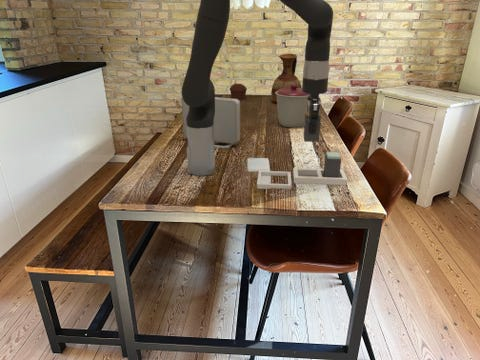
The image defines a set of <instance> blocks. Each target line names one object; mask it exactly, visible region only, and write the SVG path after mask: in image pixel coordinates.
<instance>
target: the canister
mask: <svg viewBox="0 0 480 360" xmlns="http://www.w3.org/2000/svg"><path fill="white" fill-rule="evenodd" d="M297 87H298V85H297V84H296V83H292V84H291V88H282V89H279V90H278V91H276V92H275V93H276V95H277V102H276V105H277V106H276V108H277V118H278V124H280V125H281V126H283V127H285V128H294V129H295V128H302V127H303V126H304V123H305V113H306V110H307V97H308V95H310V94H307V93H304V92H303V91H302V88H297Z"/></svg>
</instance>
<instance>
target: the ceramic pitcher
mask: <svg viewBox="0 0 480 360" xmlns="http://www.w3.org/2000/svg"><path fill="white" fill-rule="evenodd" d="M278 57H279V59H280V60H281V61H282V72H281V74H279V75H278V76H277V77H276V78H275V80H274V81H273V83H272V86H271V92H270V93H271V99H272V100H273V101H274V102H276V103H277V95H276V93H275V92H276V91H278V90H279V89H282V88H291V84H292V83H296V84H297V85H298V87H297V88H302V83H301V82H300V80H299V78H298V76H296V75H295V74H296V68H297V63H298V55H297V54H295V53H294V54H293V53H283V54H281V55H279V56H278Z"/></svg>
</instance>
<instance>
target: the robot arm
mask: <svg viewBox="0 0 480 360" xmlns="http://www.w3.org/2000/svg"><path fill="white" fill-rule="evenodd" d="M279 1H280V2H281V3H283V4H284V5H285V6H286V7H287V8H288V9H290V10H292V11H293V12H294V13H295V14H297V16H298V17H300V19H302V20H303V22H305V23H306V24H307V25H308V26H307V40H306V43H305V50H304V62H303V69H302V83H301V87H302V91H303V92H304V93H307V94H310V95H308V97H307V110H308V114H309V134H316V125H317V122H318V121H319V119H318V118H319V113H320V114H321V112H320V111H321V104H322V99H321V97H320V95H321V94H322V95H323V94H326V93H327V92H328V85H329V76H330V75H329V74H330V53H331V36H332V28H333V21H334V20H333V19H334V10H333V7H332V5H330V4H329V3H328V2H326V1H325V0H279ZM230 10H231V0H200V3H199V7H198V10H197V11H198V12H197V16H196V21H195V27H194V34H193V39H192V44H191V51H190V58H189V63H188V65H187V66H188V67H187V70H186V73H185V75H184V79H183V82H182V85H181V99H182V98H183V100H184V102H185V103H186V104H187V105H188V106H189V112H188V115H187V118H186V123H187V137H188V138H187V137H186V138H187V147H186V160H187V172H188V174H192V176H193V175H194V176H199V177H200V176H208V175H212V174H214V173H215V172H216V151H215V148H216V147H214V145H215V144H214V116H215V97H216V90H215V85H214V83H213V81H212V80H211V75H212V69H213V67H214V63H215V61H216V59H217V56H218V55H219V53H220V51H221V49H222V48H221V47H222V46H223V43H224V41H225V38H226V34H227V29H228V24H229V20H230V12H231V11H230ZM313 115H316V118H312V116H313Z"/></svg>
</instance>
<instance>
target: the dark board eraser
mask: <svg viewBox="0 0 480 360" xmlns="http://www.w3.org/2000/svg"><path fill="white" fill-rule="evenodd" d="M341 164H342V156H341V154H340V152H336V151H335V152H334V151H333V152H332V151H326V153H325V156H324V165H323V169H324V173H323V177H333V178H339V174H340V170H341Z"/></svg>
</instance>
